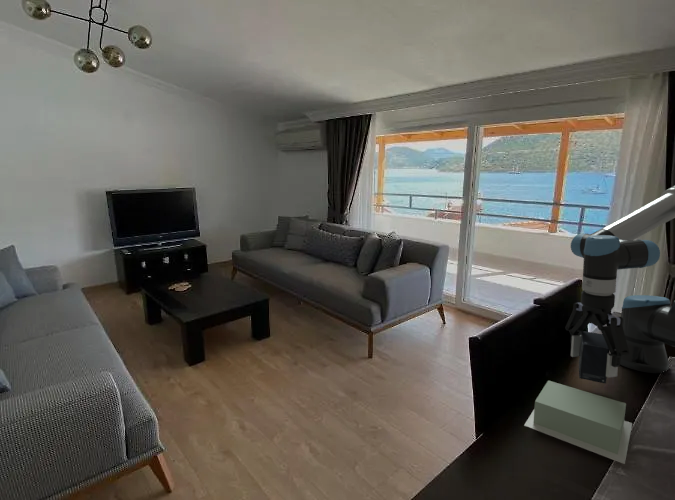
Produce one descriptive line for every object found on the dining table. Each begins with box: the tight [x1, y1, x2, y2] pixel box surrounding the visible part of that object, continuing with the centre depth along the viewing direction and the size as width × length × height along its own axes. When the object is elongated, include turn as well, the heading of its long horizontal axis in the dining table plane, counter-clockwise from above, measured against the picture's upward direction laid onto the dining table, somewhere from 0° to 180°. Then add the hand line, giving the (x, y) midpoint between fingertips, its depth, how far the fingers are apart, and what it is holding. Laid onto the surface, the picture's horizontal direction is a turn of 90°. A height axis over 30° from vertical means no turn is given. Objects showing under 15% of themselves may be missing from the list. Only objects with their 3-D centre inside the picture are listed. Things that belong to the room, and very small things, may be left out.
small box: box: [578, 330, 610, 384], centre depth 103 cm, size 11×6×10 cm, turn 148°
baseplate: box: [523, 409, 633, 465], centre depth 91 cm, size 18×20×1 cm
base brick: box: [533, 380, 627, 454], centre depth 91 cm, size 13×17×6 cm
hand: (592, 365), depth 103 cm, fingers closed on small box, 11 cm apart
